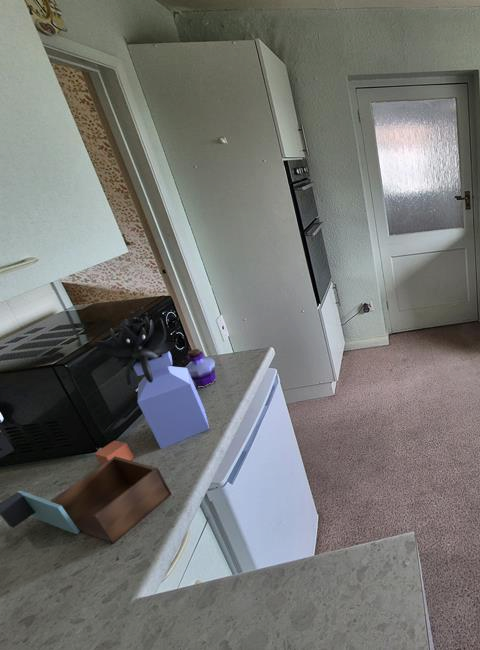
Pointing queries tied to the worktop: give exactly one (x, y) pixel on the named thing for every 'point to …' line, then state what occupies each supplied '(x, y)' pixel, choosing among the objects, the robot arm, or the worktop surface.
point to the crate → (113, 498)
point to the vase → (157, 380)
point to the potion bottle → (200, 368)
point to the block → (114, 452)
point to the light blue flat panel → (35, 511)
